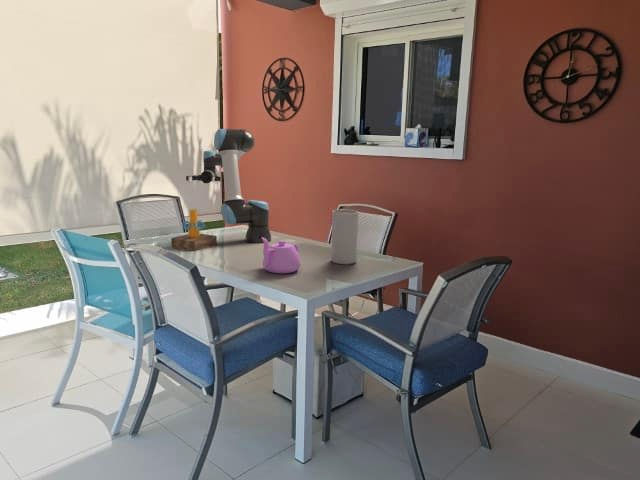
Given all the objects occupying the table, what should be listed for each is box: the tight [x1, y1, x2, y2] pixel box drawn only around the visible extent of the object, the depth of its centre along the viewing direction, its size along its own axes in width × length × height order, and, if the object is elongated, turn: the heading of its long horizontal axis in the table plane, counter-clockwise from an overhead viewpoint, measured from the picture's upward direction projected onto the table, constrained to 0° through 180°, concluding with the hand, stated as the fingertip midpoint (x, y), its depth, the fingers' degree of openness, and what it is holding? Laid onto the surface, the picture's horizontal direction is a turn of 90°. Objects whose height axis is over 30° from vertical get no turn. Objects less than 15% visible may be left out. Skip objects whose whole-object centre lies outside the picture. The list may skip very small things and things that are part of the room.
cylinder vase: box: [330, 209, 359, 265], centre depth 239 cm, size 12×12×25 cm
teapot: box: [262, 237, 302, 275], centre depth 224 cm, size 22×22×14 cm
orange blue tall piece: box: [182, 208, 206, 238], centre depth 266 cm, size 12×10×15 cm
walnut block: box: [170, 233, 218, 252], centre depth 267 cm, size 16×18×5 cm
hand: (200, 179), depth 284 cm, fingers open, 13 cm apart
